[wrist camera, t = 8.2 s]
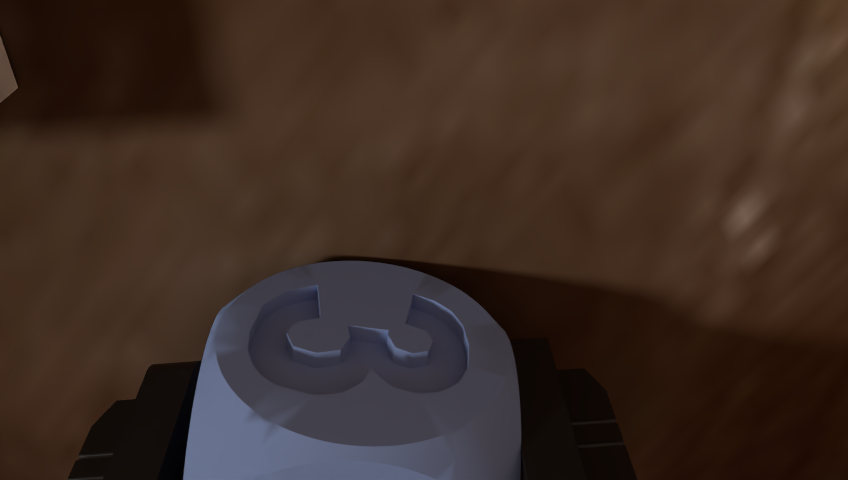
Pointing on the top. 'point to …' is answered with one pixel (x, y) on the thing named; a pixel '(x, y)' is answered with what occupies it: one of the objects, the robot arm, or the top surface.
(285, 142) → the top surface
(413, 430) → the decorative dice
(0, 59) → the tray
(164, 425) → the robot arm
